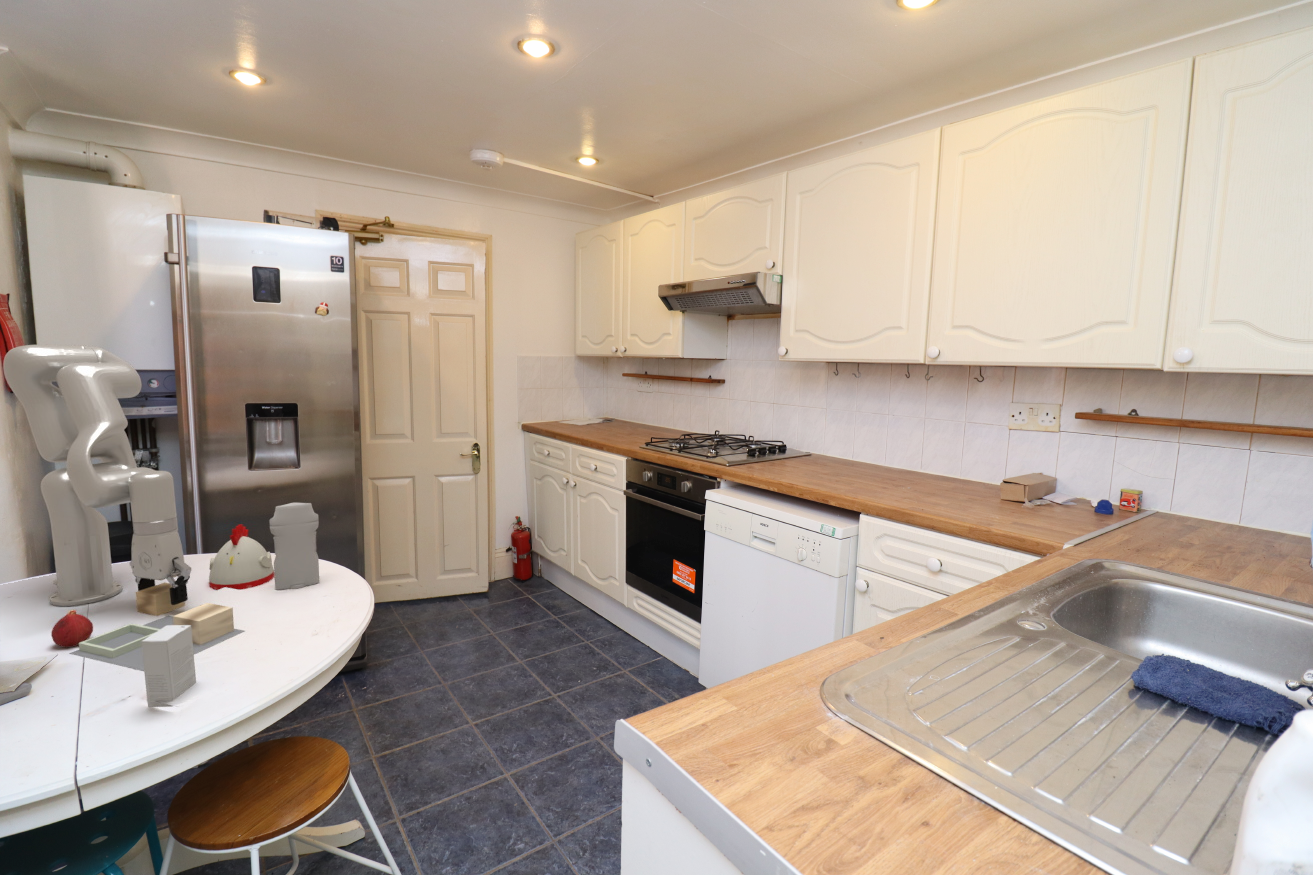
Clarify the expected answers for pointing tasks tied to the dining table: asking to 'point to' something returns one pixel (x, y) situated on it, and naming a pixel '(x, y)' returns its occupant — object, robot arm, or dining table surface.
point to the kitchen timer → (240, 563)
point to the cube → (156, 600)
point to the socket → (94, 648)
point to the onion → (71, 629)
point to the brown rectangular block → (207, 621)
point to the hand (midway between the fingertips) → (163, 600)
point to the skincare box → (168, 664)
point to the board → (135, 656)
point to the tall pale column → (295, 546)
